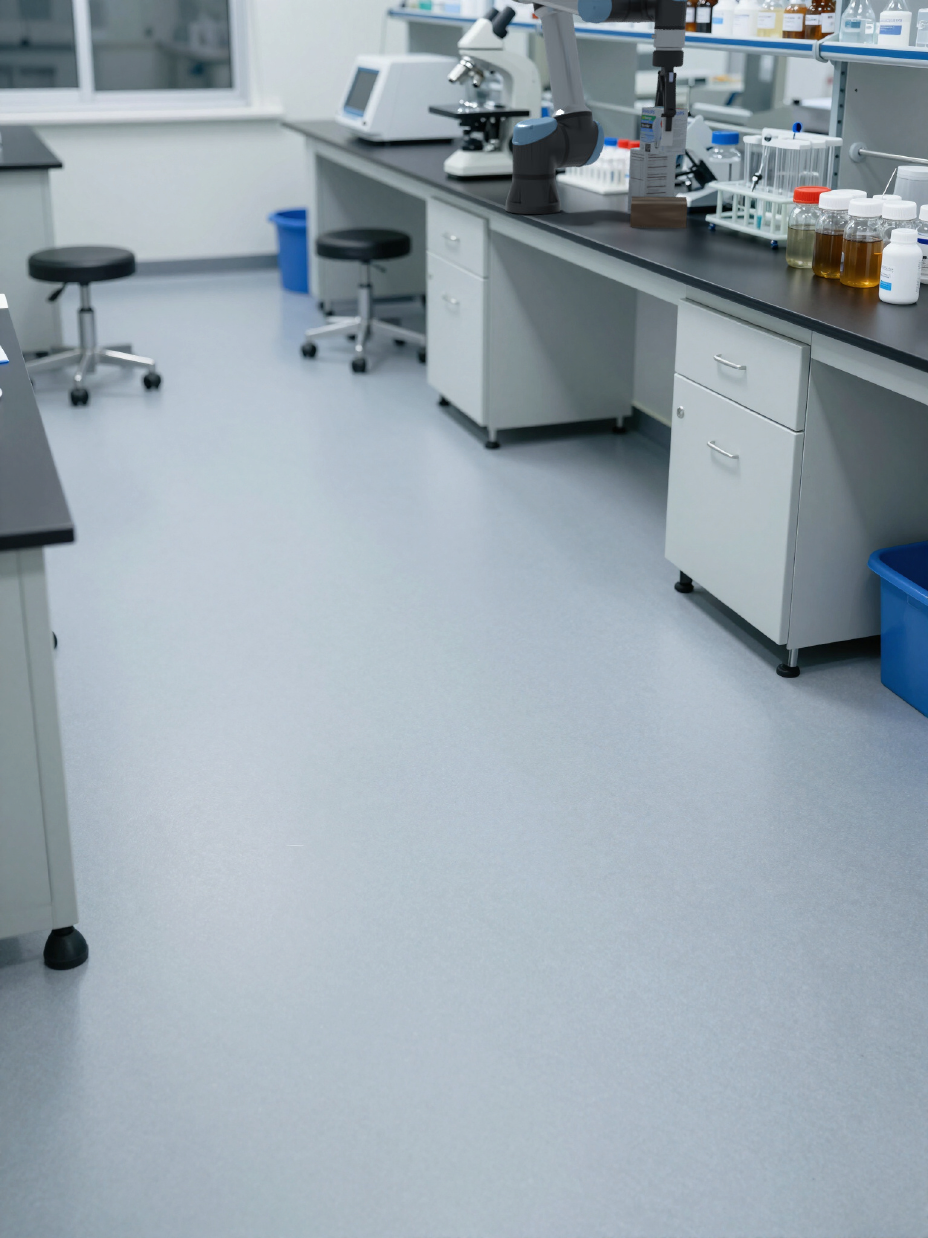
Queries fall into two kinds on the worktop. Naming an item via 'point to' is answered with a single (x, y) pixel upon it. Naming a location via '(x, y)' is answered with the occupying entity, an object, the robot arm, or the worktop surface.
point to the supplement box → (650, 175)
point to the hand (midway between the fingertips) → (662, 143)
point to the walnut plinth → (658, 212)
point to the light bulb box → (653, 132)
